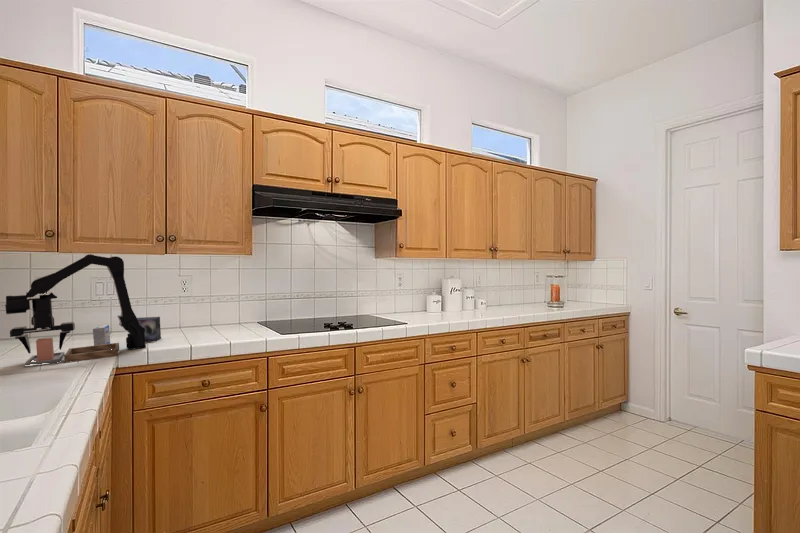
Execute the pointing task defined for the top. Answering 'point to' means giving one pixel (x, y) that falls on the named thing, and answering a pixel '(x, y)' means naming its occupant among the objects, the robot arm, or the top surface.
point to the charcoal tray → (57, 358)
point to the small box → (151, 328)
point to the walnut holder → (91, 352)
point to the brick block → (45, 349)
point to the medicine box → (101, 335)
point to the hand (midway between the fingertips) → (45, 351)
